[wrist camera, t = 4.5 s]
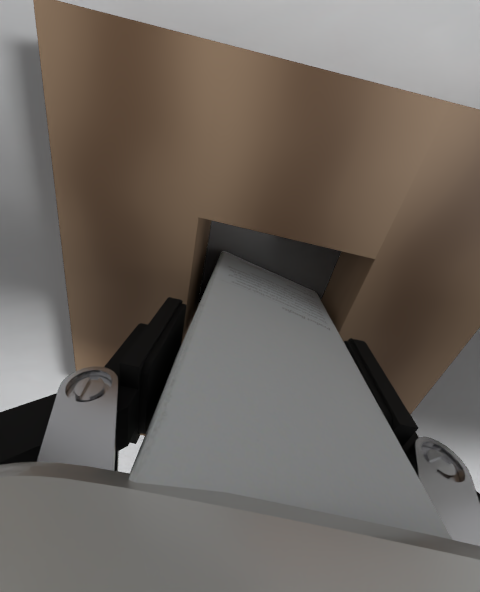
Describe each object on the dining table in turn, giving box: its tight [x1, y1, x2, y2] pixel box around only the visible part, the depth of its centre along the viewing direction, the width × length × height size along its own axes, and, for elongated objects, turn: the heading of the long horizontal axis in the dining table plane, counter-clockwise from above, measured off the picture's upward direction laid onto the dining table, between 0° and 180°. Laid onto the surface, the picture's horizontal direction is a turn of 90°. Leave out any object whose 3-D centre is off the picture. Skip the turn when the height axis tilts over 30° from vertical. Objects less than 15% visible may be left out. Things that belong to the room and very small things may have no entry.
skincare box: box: [129, 251, 452, 540], centre depth 9 cm, size 6×4×12 cm
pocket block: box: [33, 0, 480, 436], centre depth 13 cm, size 18×19×4 cm
